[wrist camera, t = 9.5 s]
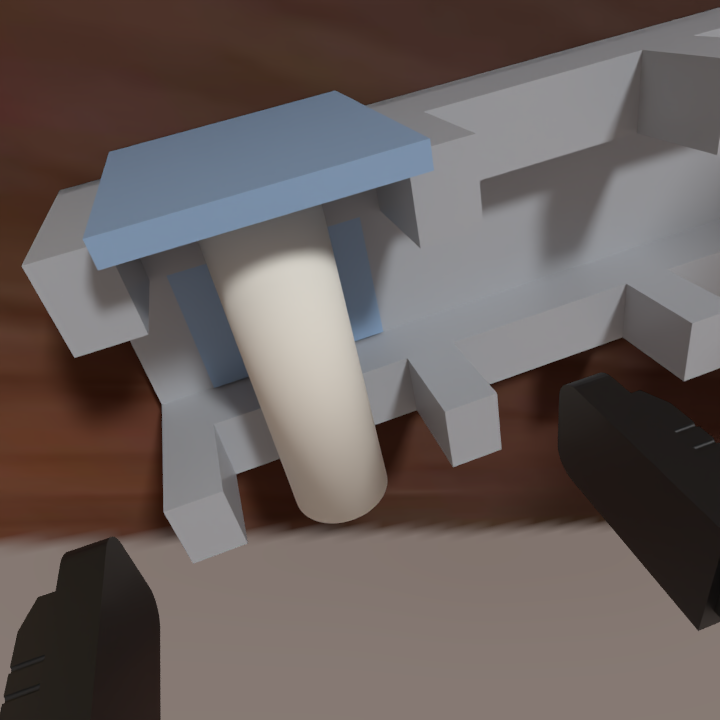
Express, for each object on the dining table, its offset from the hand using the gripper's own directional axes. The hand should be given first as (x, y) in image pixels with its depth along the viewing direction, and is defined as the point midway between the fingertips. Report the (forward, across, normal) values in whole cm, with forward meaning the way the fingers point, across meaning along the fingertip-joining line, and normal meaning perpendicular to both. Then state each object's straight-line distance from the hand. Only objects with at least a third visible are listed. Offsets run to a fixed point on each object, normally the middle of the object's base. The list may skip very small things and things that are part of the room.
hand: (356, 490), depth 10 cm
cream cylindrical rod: (+8, 0, +1) cm, 8 cm away
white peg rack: (+10, -8, +1) cm, 13 cm away
